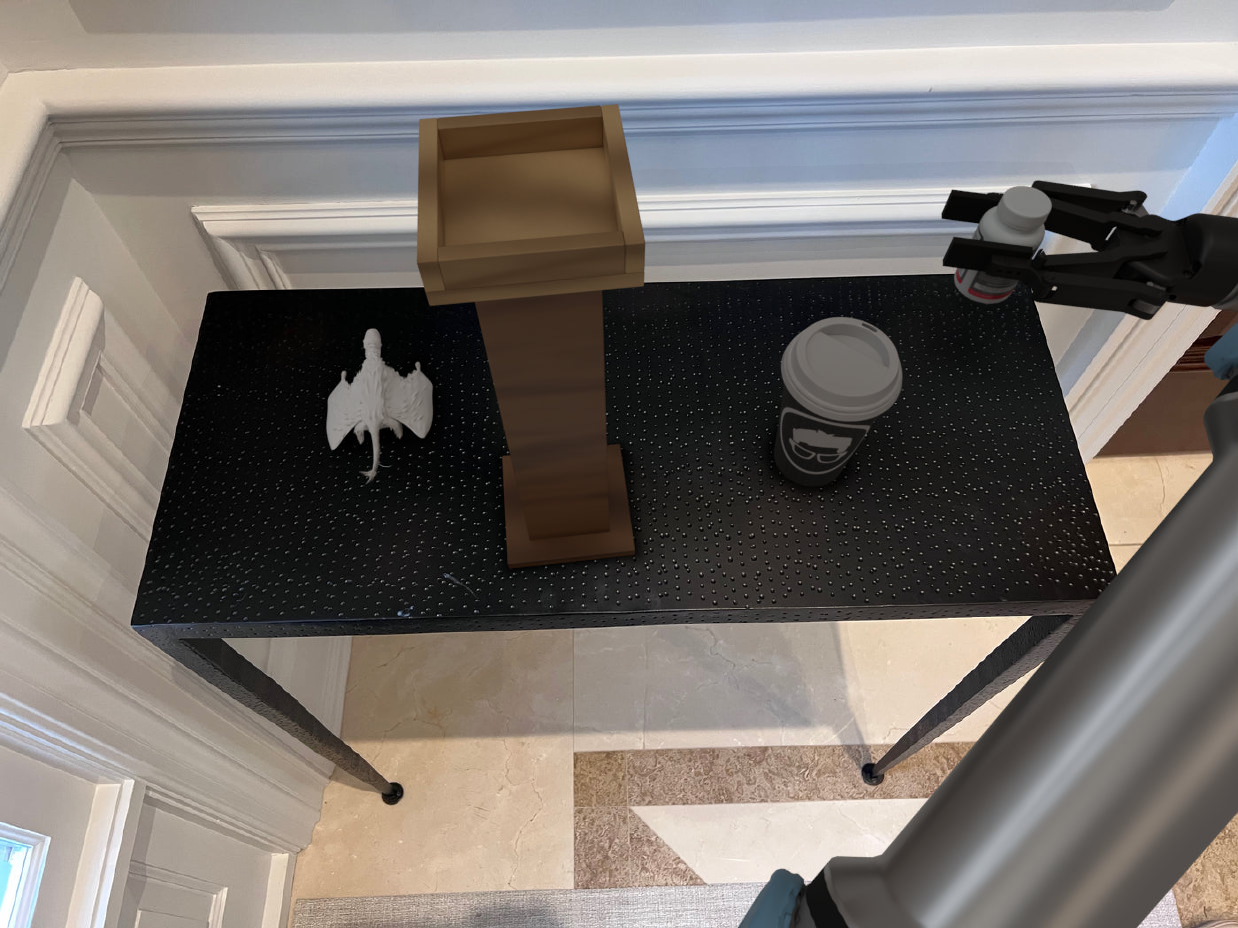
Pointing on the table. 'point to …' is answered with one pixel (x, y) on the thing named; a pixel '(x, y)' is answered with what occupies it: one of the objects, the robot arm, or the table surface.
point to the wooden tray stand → (539, 304)
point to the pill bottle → (1006, 239)
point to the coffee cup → (832, 396)
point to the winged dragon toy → (379, 401)
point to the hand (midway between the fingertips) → (947, 227)
